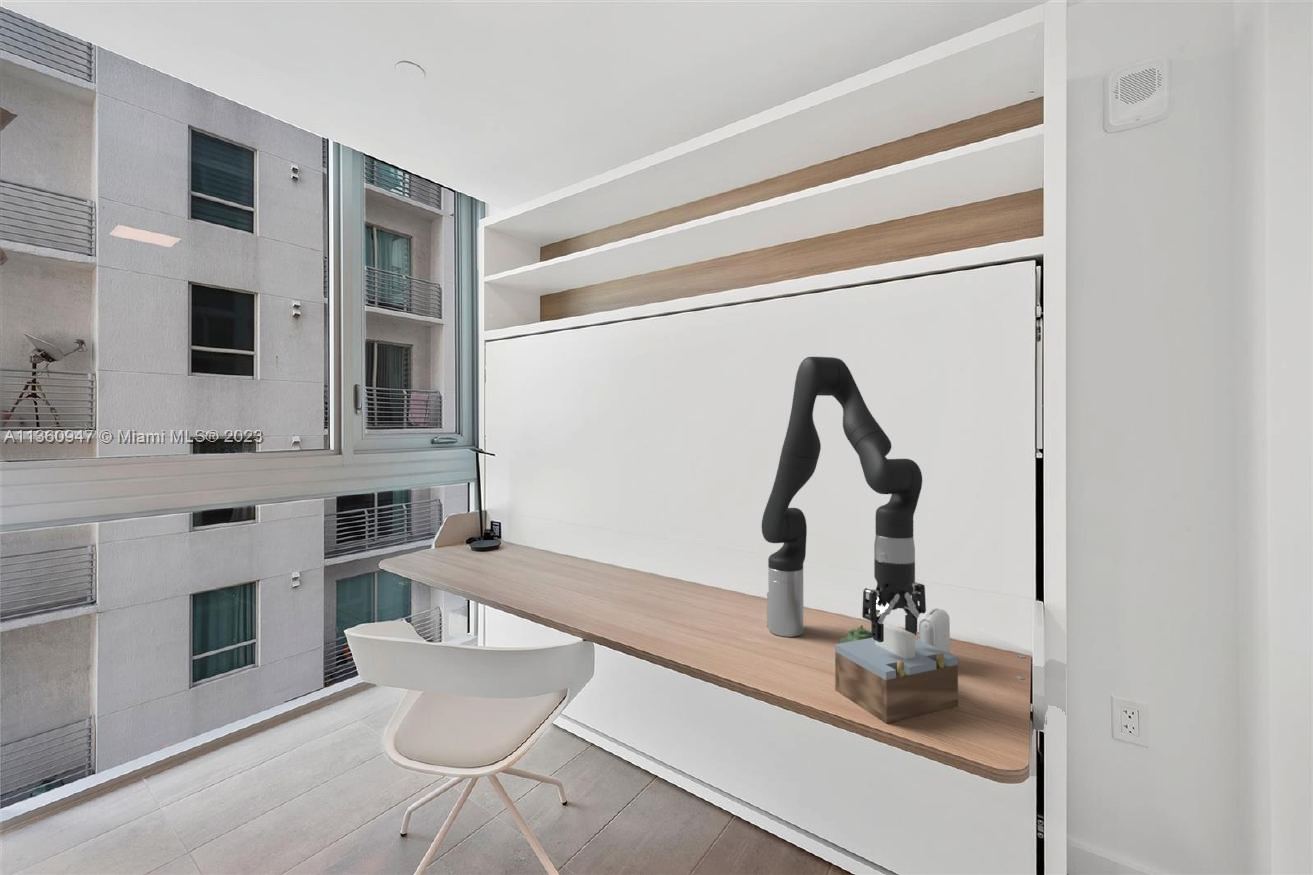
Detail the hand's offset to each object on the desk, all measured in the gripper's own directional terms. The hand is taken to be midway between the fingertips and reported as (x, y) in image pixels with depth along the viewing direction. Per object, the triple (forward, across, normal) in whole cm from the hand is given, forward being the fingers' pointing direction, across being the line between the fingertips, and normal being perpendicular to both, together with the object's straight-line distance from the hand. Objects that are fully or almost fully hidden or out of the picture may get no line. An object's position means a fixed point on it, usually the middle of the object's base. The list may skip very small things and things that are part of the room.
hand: (894, 637), depth 108 cm
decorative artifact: (+12, -9, -20) cm, 25 cm away
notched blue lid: (+4, 0, 0) cm, 4 cm away
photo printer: (+12, -21, -9) cm, 26 cm away
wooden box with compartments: (+12, 0, 0) cm, 12 cm away
